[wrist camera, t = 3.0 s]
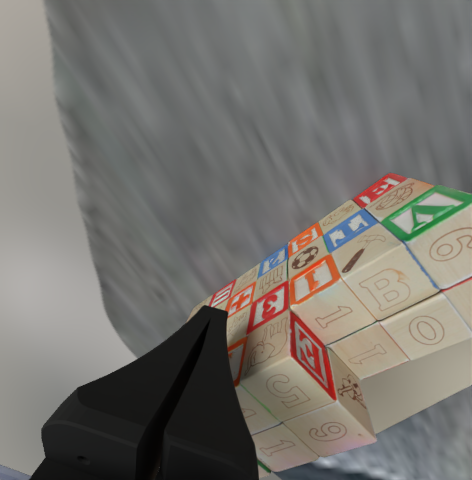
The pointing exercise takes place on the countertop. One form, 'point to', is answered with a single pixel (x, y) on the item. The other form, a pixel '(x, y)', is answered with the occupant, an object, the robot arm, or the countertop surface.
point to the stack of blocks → (346, 315)
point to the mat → (417, 384)
